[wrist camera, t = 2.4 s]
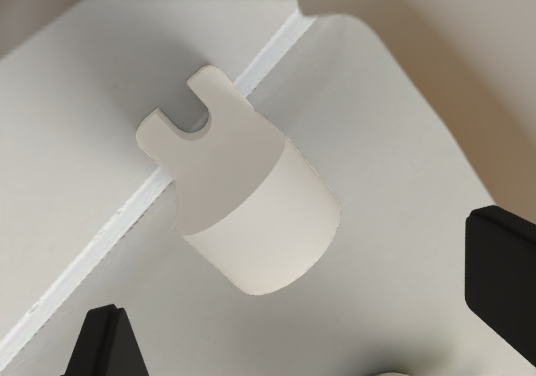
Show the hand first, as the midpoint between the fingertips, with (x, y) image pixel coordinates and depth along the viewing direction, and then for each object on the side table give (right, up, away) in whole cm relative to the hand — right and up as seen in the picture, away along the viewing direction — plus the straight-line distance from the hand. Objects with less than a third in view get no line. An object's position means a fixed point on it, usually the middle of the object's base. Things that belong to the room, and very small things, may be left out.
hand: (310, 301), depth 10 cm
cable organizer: (-3, +4, +12) cm, 13 cm away
